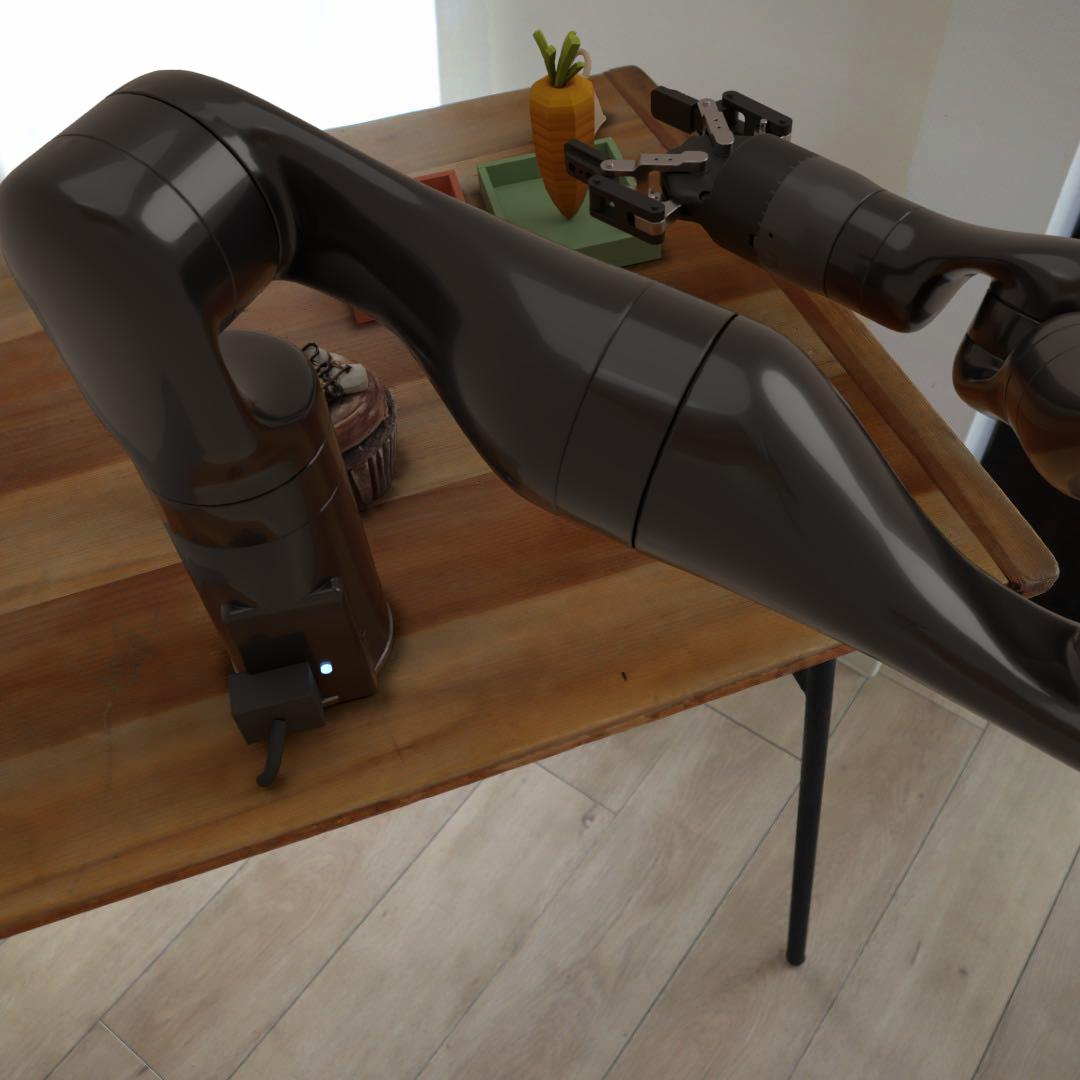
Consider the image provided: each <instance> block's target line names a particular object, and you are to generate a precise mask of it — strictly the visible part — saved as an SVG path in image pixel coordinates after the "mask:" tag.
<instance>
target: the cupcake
mask: <svg viewBox="0 0 1080 1080" xmlns="http://www.w3.org/2000/svg"><path fill="white" fill-rule="evenodd" d="M299 349H300V350H302V351H303V353H304V354H305V355H306V356H307V357H308V358H309V360H310V361H311V363H312V364H313V366H314V368H315V370H316V372H317V374H318V377H319V379H320V382H321V385H322V388H323V391H324V395H325V398H326V402H327V405H328V409H329V412H330V416H331V419H332V422H333V426H334V429H335V432H336V436H337V439H338V442H339V446H340V449H341V453H342V457H343V460H344V464H345V467H346V470H347V474H348V477H349V480H350V484H351V487H352V490H353V494H354V497H355V500H356V504H357V507H358V510H359V512H361V511H364V510H366V509H367V508H368V507H370V506H371V505H373V503H374V501H376V500H378V499H380V498H381V497H382V496H383V495H384V494H385V493H386V492H387V491H388V490H390V488H391V486H392V483H393V480H394V478H395V476H396V474H397V436H398V420H397V419H398V411H397V410H398V409H397V407H396V399H394V394H392V393H391V391H390V390H389V389H388V388H387V386H386V385H385V384H384V383H383V382H382V381H381V379H380V378H379V375H378V374H376V373H375V372H374V371H373V370H372V369H371V368H369V367H367V366H366V365H364V364H363V363H360V362H359V361H356V360H355V359H352V358H350V357H347V356H345V355H343V354H340V353H336V352H330V351H329V352H328V351H326V350H325V349H323V348H322V347H320V346H319V345H318V344H316V343H315V342H308V343H306V344H304V346H302V347H301V348H299Z"/></svg>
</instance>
